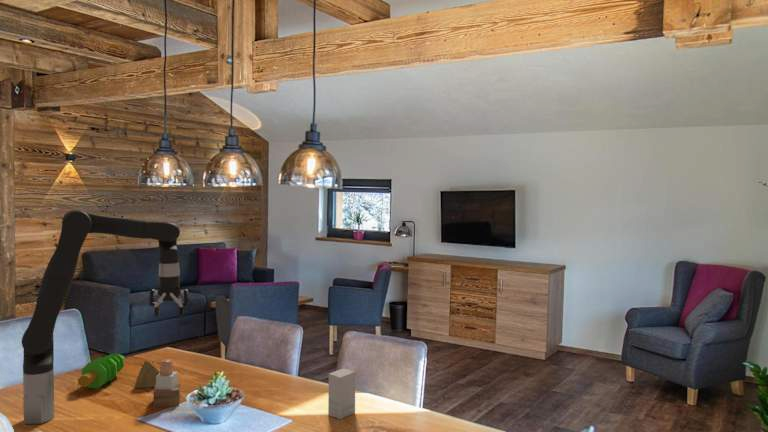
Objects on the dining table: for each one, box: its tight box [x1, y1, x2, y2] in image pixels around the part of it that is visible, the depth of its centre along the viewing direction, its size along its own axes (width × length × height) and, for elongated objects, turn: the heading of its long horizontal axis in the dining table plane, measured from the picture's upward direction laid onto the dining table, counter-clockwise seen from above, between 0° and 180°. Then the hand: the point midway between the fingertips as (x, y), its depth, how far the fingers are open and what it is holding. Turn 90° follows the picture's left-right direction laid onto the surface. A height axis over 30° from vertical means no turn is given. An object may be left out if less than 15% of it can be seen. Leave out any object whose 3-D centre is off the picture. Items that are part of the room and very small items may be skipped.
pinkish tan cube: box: [159, 358, 174, 376], centre depth 228 cm, size 5×5×5 cm
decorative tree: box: [77, 353, 125, 389], centre depth 251 cm, size 11×12×30 cm
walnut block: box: [152, 381, 181, 408], centre depth 228 cm, size 9×9×6 cm
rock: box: [134, 360, 160, 389], centre depth 245 cm, size 11×9×10 cm
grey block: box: [156, 371, 179, 390], centre depth 228 cm, size 6×6×5 cm
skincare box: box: [327, 367, 356, 420], centre depth 218 cm, size 8×7×16 cm
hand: (169, 316), depth 230 cm, fingers open, 8 cm apart
